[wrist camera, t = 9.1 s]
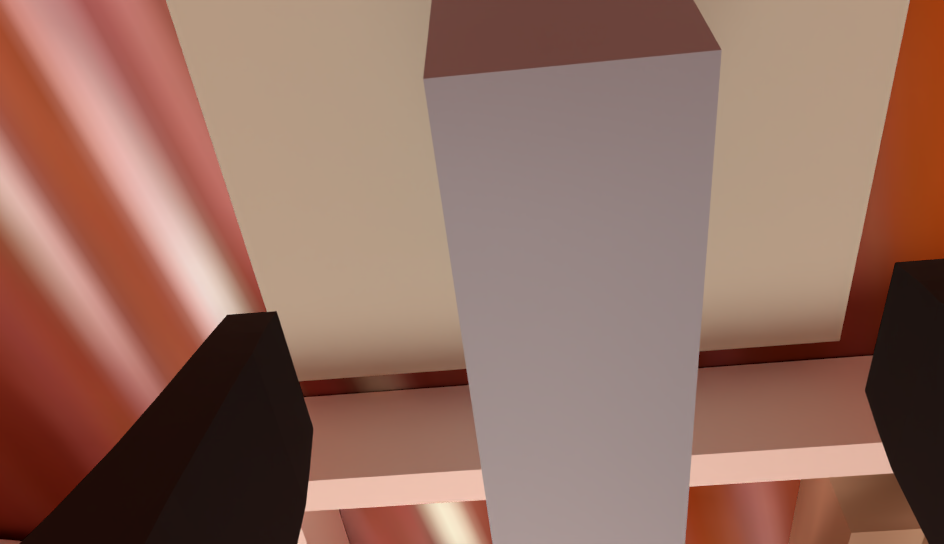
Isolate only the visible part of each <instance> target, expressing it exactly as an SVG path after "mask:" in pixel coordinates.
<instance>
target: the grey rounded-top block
mask: <svg viewBox="0 0 944 544" xmlns="http://www.w3.org/2000/svg"><path fill="white" fill-rule="evenodd" d="M20 542H22V541H15V540H3V539H0V544H19V543H20Z"/></svg>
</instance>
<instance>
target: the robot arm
mask: <svg viewBox="0 0 944 544" xmlns="http://www.w3.org/2000/svg"><path fill="white" fill-rule="evenodd" d="M865 393H866V396H867V399H868V402H869V405H870V408H871V411H872V415H873V418H874V421H875V424H876V427H877V430H878V433H879V436H880V438H881V441H882V444H883V447H884V450H885V452H886V455H887V458H888V461H889V463H890V466H891V469H892V471H893V473H894V475H895V477H896V479H897V481H898V483H899V485H900V487H901V489H902V491H903V493H904V495H905V497H906V499H907V501H908V503H909V505H910V507H911V509H912V511H913V513H914V515H915V517H916V519H917V521H918V524H919V526H920V528H921V530H922V532H923V533H924V535H925V537H926V539H927V541H928V543H929V544H944V259H935V260H922V261H909V262H896V263H895V266H894V270H893V274H892V278H891V282H890V287H889V291H888V295H887V299H886V303H885V307H884V312H883V316H882V320H881V324H880V328H879V333H878V337H877V341H876V345H875V349H874V354H873V358H872V362H871V366H870V370H869V374H868V379H867V383H866V387H865ZM313 429H314V428H313V425H312V422H311V419H310V416H309V412H308V409H307V406H306V403H305V400H304V396H303V393H302V390H301V387H300V384H299V381H298V377H297V374H296V371H295V368H294V365H293V361H292V358H291V355H290V352H289V349H288V346H287V342H286V339H285V336H284V333H283V330H282V327H281V323H280V320H279V317H278V314H277V311H272V312H259V313H246V314H233V315H227V316H226V317H225V318H224V319H223V320H222V322H221V323H220V324H219V325H218V326H217V327H216V328H215V330H214V331H213V332H212V333H211V334H210V335H209V337H208V338H207V339H206V340H205V341H204V342H203V344H202V345H201V346H200V347H199V348H198V350H197V351H196V352H195V353H194V354H193V355H192V357H191V358H190V359H189V360H188V361H187V363H186V364H185V365H184V366H183V367H182V369H181V370H180V371H179V372H178V373H177V375H176V376H175V377H174V378H173V379H172V380H171V382H170V383H169V384H168V385H167V386H166V388H165V389H164V390H163V391H162V392H161V393H160V395H159V396H158V397H157V398H156V399H155V401H154V402H153V403H152V404H151V405H150V406H149V407H148V409H147V410H146V411H145V412H144V413H143V414H142V415H141V417H140V418H139V419H138V420H137V421H136V422H135V423H134V425H133V426H132V427H131V428H130V429H129V430H128V431H127V433H126V434H125V435H124V436H123V437H122V438H121V439H120V441H119V442H118V443H117V444H116V445H115V446H114V447H113V448H112V450H111V451H110V452H109V453H108V454H107V455H106V456H105V457H104V458H103V459H102V460H101V461H100V462H99V463H98V464H97V465H96V466H95V467H94V468H93V470H92V471H91V472H90V473H89V474H88V475H87V476H86V477H85V478H84V479H83V480H82V481H81V482H80V483H79V484H78V485H77V486H76V487H75V488H74V489H73V491H72V492H71V493H70V494H69V495H68V496H67V497H66V498H65V499H64V500H63V501H62V502H61V503H60V504H59V505H58V506H57V507H56V508H55V509H54V510H53V511H52V513H51V514H49V515H48V516H47V517H46V518H45V519H44V520H43V521H42V522H41V523H40V524H39V525H38V526H37V527H36V528H35V529H34V530H33V531H32V532H31V533H30V534H29V535H28V536H27V537H26V538H25V539H24V540H23V541H22V542H20V543H19V544H297V543H298V539H299V535H300V530H301V526H302V521H303V516H304V512H305V507H306V500H307V491H308V483H309V474H310V463H311V452H312V441H313Z"/></svg>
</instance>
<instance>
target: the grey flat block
mask: <svg viewBox="0 0 944 544" xmlns="http://www.w3.org/2000/svg"><path fill="white" fill-rule="evenodd" d="M721 52H722V50H721V48H720V46H719V44H718V42H717V41H716V39H715V37H714V35H713V34H712V32H711V30H710V28H709V27H708V25H707V23H706V21H705V19H704V18H703V16H702V14H701V12H700V11H699V9H698V7H697V5H696V3H695V2H694V0H432V2H431V11H430V20H429V29H428V39H427V48H426V57H425V66H424V76H423V81H424V88H425V95H426V101H427V108H428V115H429V121H430V128H431V135H432V141H433V148H434V155H435V161H436V168H437V175H438V182H439V188H440V195H441V202H442V208H443V215H444V222H445V228H446V235H447V242H448V249H449V255H450V262H451V269H452V275H453V282H454V289H455V295H456V302H457V309H458V315H459V322H460V329H461V336H462V342H463V349H464V356H465V362H466V369H467V376H468V382H469V389H470V396H471V402H472V409H473V416H474V423H475V429H476V436H477V443H478V449H479V456H480V463H481V469H482V476H483V483H484V490H485V496H486V503H487V510H488V516H489V523H490V530H491V536H492V543H493V544H685V536H686V523H687V509H688V496H689V482H690V469H691V455H692V442H693V429H694V415H695V402H696V388H697V375H698V361H699V348H700V334H701V321H702V308H703V294H704V281H705V267H706V254H707V240H708V227H709V214H710V200H711V187H712V173H713V160H714V146H715V133H716V119H717V106H718V93H719V79H720V66H721Z"/></svg>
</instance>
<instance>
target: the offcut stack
mask: <svg viewBox="0 0 944 544" xmlns="http://www.w3.org/2000/svg"><path fill="white" fill-rule="evenodd" d="M789 544H929V543H928V541H927V539H926V537H925V535H924V533H923V532H922V530H921V528H920V526H919V524H918V521H917V519H916V517H915V515H914V513H913V511H912V509H911V507H910V505H909V503H908V501H907V499H906V497H905V495H904V493H903V491H902V489H901V487H900V485H899V483H898V481H897V479H896V477H895V475H894V473H889V474H874V475H859V476H843V477H828V478H813V479H801V482H800V487H799V492H798V497H797V503H796V508H795V513H794V518H793V523H792V528H791V533H790V538H789Z"/></svg>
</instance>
